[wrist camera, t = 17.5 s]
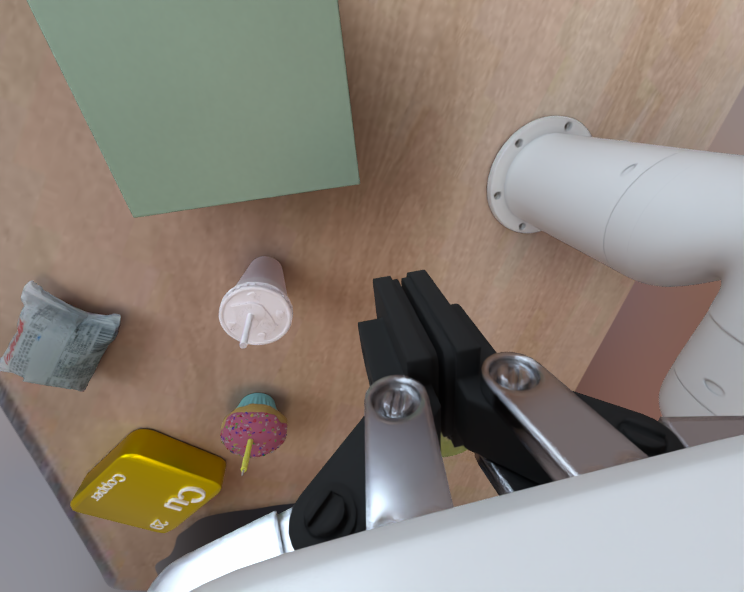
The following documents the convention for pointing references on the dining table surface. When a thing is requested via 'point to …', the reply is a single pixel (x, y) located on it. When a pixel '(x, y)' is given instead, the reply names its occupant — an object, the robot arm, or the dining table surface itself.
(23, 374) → the packaged food
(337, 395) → the dining table surface
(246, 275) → the smoothie
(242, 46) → the lid
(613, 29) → the dining table surface
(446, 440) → the mat
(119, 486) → the element tile
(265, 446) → the cupcake
